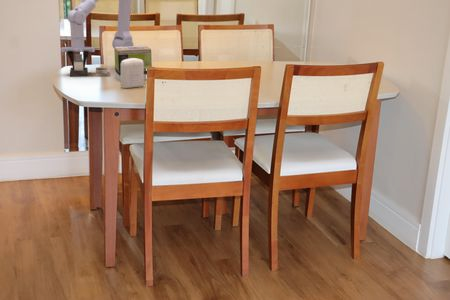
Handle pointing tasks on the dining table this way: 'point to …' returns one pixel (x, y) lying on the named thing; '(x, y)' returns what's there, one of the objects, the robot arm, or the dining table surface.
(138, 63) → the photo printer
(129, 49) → the tea box
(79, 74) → the panel
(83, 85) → the dining table surface
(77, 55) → the plug
